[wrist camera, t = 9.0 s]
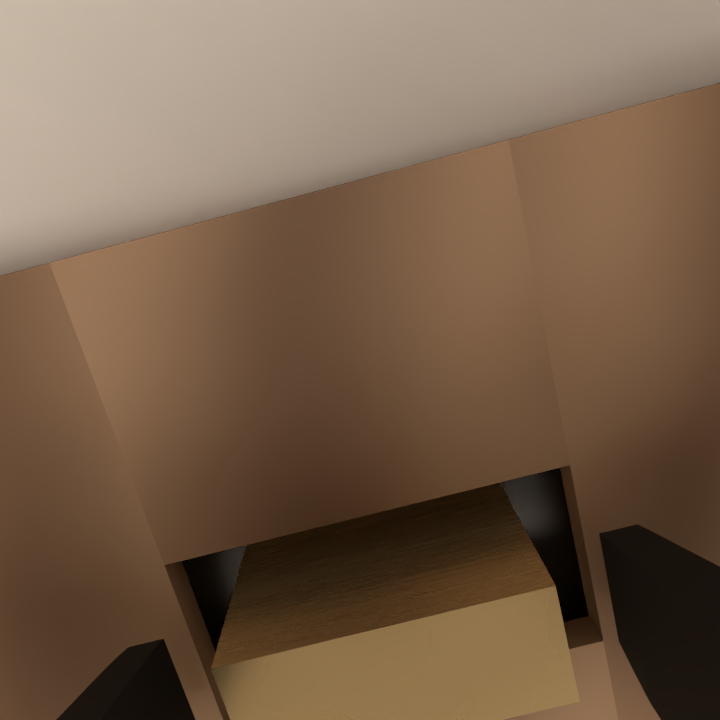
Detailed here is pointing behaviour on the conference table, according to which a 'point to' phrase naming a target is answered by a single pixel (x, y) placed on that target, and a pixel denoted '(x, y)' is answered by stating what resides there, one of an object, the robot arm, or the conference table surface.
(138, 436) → the wooden board with recess
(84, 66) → the conference table surface
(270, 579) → the wooden block
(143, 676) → the robot arm
